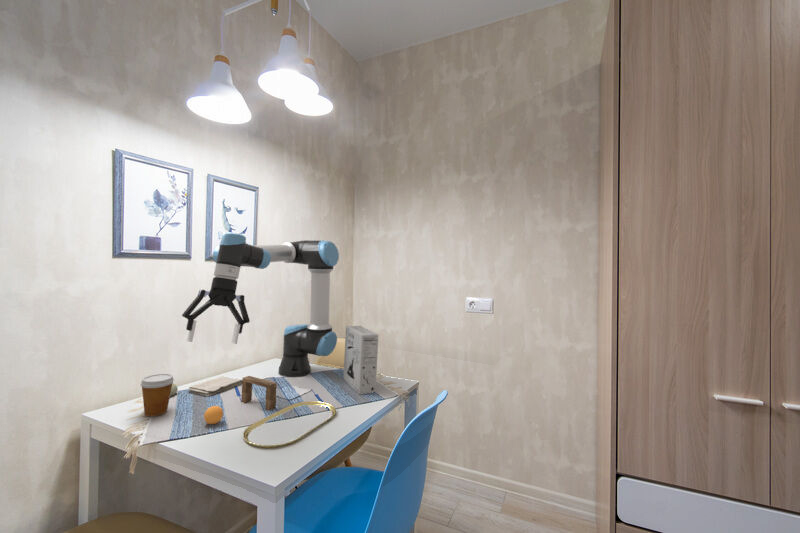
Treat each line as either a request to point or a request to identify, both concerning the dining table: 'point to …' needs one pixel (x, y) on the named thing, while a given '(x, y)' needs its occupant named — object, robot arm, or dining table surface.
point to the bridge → (269, 385)
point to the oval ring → (281, 413)
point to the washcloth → (214, 386)
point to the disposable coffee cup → (156, 393)
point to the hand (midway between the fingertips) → (212, 342)
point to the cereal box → (360, 359)
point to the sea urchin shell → (173, 389)
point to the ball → (213, 415)
